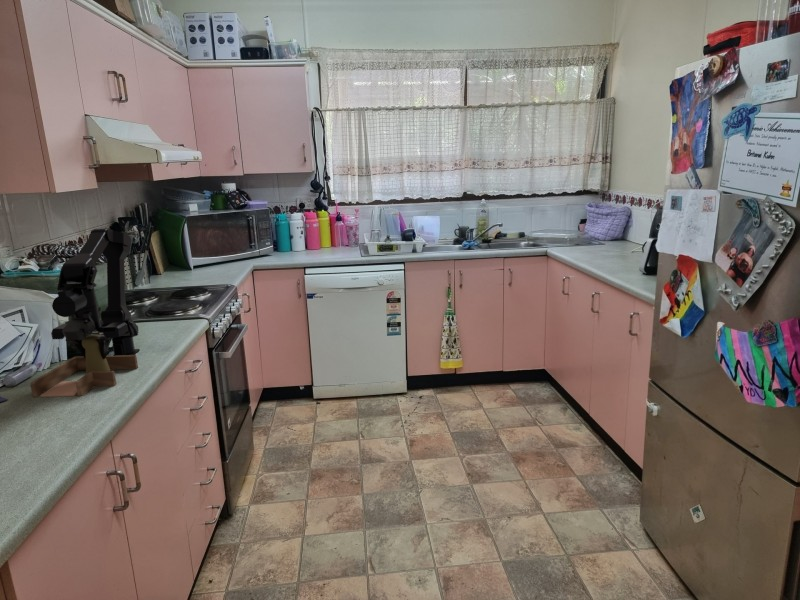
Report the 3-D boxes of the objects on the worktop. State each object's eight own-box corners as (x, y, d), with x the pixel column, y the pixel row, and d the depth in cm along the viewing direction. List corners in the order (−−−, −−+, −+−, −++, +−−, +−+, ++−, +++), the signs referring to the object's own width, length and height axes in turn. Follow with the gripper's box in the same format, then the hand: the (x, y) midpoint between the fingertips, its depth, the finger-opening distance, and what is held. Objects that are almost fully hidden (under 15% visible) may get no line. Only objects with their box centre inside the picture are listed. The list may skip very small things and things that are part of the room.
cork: (114, 367, 153) (107, 332, 150) (103, 376, 147) (96, 339, 144) (93, 368, 153) (85, 333, 150) (81, 377, 147) (74, 340, 144)
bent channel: (77, 369, 157) (74, 356, 156) (138, 367, 156) (136, 355, 155) (33, 396, 138) (30, 382, 137) (102, 395, 138) (99, 381, 137)
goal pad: (62, 382, 147) (62, 381, 147) (94, 381, 147) (93, 380, 147) (40, 396, 138) (40, 395, 138) (74, 395, 138) (73, 394, 138)
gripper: (32, 316, 137) (44, 371, 141) (102, 314, 137) (113, 369, 141) (59, 304, 148) (69, 356, 152) (124, 302, 148) (133, 354, 152)
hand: (95, 359), depth 149 cm, fingers closed on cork, 4 cm apart
